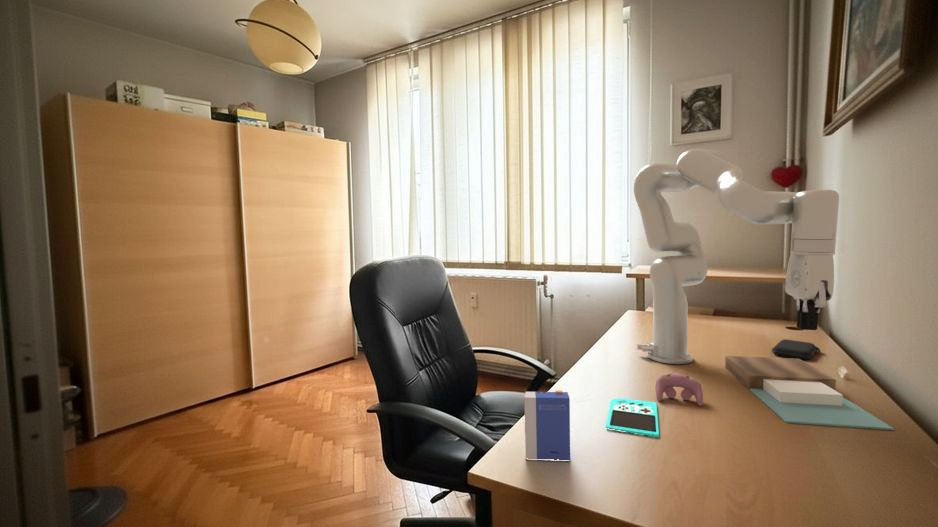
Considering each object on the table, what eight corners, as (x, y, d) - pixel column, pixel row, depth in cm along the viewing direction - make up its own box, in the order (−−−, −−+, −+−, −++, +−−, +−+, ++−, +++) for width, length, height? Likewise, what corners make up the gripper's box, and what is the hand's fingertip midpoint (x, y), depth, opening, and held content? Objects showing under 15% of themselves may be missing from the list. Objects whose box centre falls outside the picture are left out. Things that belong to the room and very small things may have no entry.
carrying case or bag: (815, 363, 119) (822, 352, 129) (815, 353, 118) (822, 343, 128) (770, 356, 126) (780, 346, 136) (770, 346, 126) (780, 337, 136)
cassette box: (779, 402, 92) (780, 391, 92) (763, 388, 100) (763, 379, 100) (842, 405, 90) (842, 395, 90) (820, 391, 98) (820, 381, 97)
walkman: (568, 453, 75) (567, 390, 74) (570, 462, 72) (569, 396, 71) (524, 452, 76) (523, 389, 75) (525, 460, 73) (523, 395, 72)
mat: (786, 422, 84) (786, 420, 84) (749, 389, 101) (749, 388, 101) (893, 430, 79) (893, 428, 79) (836, 394, 96) (836, 393, 96)
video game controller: (702, 408, 95) (700, 377, 98) (704, 406, 91) (703, 374, 94) (655, 402, 99) (655, 372, 101) (655, 400, 95) (655, 370, 98)
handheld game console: (657, 407, 94) (657, 401, 94) (660, 441, 79) (660, 434, 79) (611, 401, 98) (611, 396, 98) (605, 432, 83) (605, 426, 83)
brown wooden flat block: (749, 389, 101) (749, 375, 101) (725, 367, 117) (725, 355, 116) (835, 393, 97) (835, 379, 97) (798, 371, 112) (799, 358, 112)
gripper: (776, 245, 98) (771, 320, 100) (811, 249, 83) (805, 337, 85) (812, 244, 96) (807, 321, 98) (856, 249, 81) (848, 339, 83)
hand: (806, 328), depth 92 cm, fingers closed
